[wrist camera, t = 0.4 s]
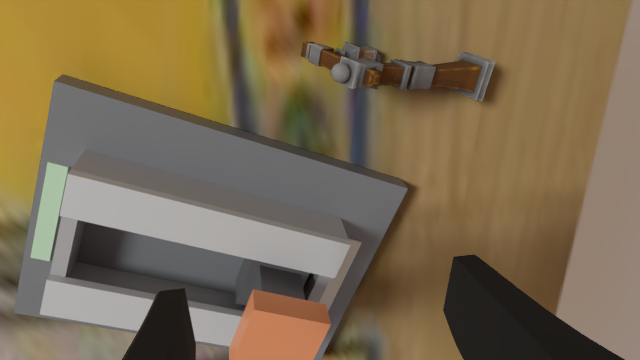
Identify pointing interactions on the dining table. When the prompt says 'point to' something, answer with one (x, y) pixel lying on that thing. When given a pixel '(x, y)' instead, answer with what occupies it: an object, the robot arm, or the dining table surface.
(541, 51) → the dining table surface
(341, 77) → the wooden post with brackets
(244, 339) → the toggle
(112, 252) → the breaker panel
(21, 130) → the dining table surface
